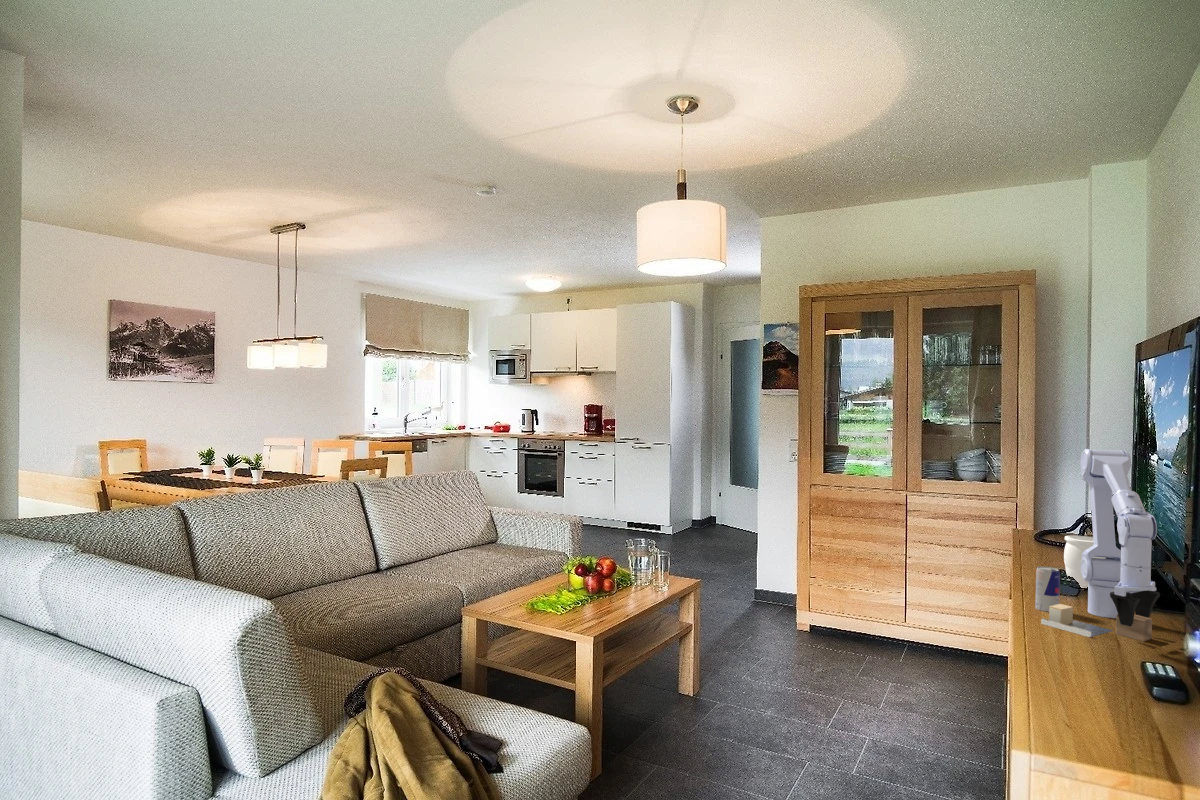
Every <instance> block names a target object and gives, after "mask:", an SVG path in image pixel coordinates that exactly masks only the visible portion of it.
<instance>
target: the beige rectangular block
mask: <svg viewBox="0 0 1200 800" xmlns="http://www.w3.org/2000/svg"><path fill="white" fill-rule="evenodd" d="M1073 612H1074V607H1073V606H1070V605H1066V604H1063V603H1059V604H1057V605H1053V606H1049V612H1048V620H1051V621H1054V622H1058V623H1062V624H1065V625H1066V624H1070V623H1073V620H1074V619H1073V617H1074V613H1073Z"/></svg>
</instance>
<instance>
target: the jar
mask: <svg viewBox="0 0 1200 800" xmlns="http://www.w3.org/2000/svg"><path fill="white" fill-rule="evenodd" d="M1064 541H1065V542H1066V543H1065V546H1064V549H1063V550H1064V551H1063V561H1064V566H1065V568H1064V569H1065V572H1066V576H1067V577H1068V576H1070V577H1073V578H1074V579H1075V580H1076V581H1077V582H1078V583H1079V585H1080V587H1081V588H1087V587H1088V582H1087V581H1085V579H1084V578H1083V577H1082V574H1081V562H1082V553H1083V552H1084V551H1085V550H1087V549H1088V548H1090V547H1092V546H1093V545H1094V543H1093V536H1086V535H1065V536H1064ZM1092 558H1100V559H1107V558H1105V557H1092Z"/></svg>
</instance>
